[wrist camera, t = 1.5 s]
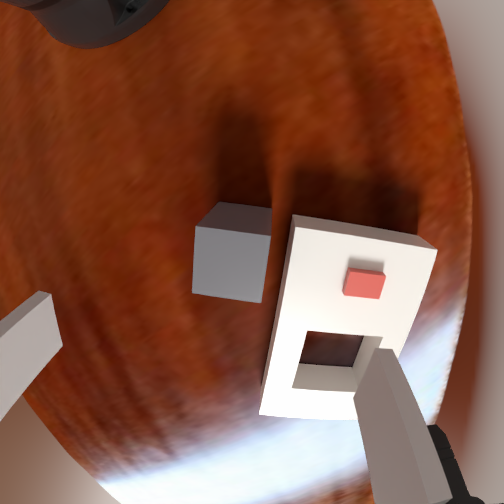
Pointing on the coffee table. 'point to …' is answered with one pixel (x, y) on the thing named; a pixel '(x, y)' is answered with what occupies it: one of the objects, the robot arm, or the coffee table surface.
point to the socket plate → (340, 310)
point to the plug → (232, 252)
